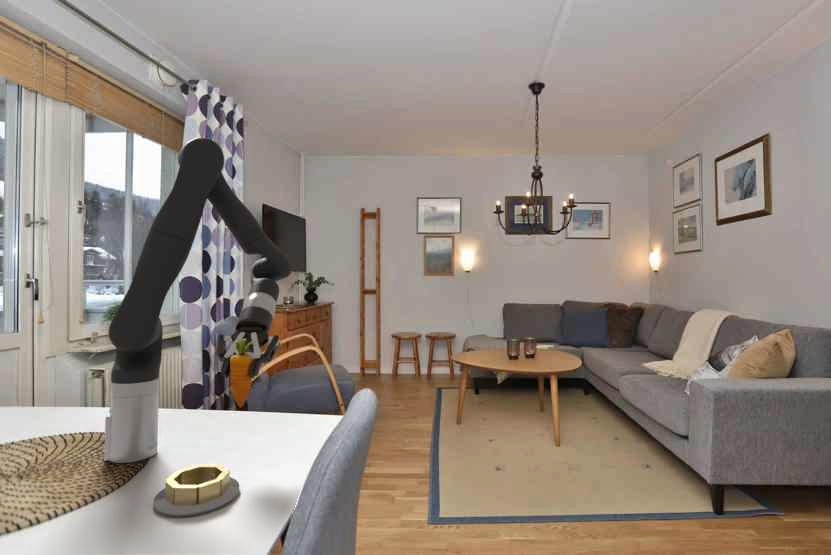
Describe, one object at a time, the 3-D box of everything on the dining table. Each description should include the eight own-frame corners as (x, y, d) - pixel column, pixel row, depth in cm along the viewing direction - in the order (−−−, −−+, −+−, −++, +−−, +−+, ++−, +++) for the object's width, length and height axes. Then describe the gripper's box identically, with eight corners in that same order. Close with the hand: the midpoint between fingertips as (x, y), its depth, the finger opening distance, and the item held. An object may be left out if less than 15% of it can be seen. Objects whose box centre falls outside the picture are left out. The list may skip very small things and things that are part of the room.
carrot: (232, 404, 96) (234, 336, 96) (255, 403, 97) (257, 336, 97) (224, 410, 91) (226, 339, 92) (248, 410, 92) (250, 339, 92)
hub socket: (136, 518, 72) (136, 494, 72) (177, 480, 86) (178, 460, 86) (221, 517, 73) (222, 493, 73) (249, 479, 87) (249, 459, 87)
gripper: (222, 304, 101) (198, 365, 89) (285, 305, 102) (269, 366, 90) (230, 325, 107) (208, 385, 94) (289, 326, 107) (275, 386, 95)
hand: (238, 375), depth 92 cm, fingers closed on carrot, 5 cm apart
